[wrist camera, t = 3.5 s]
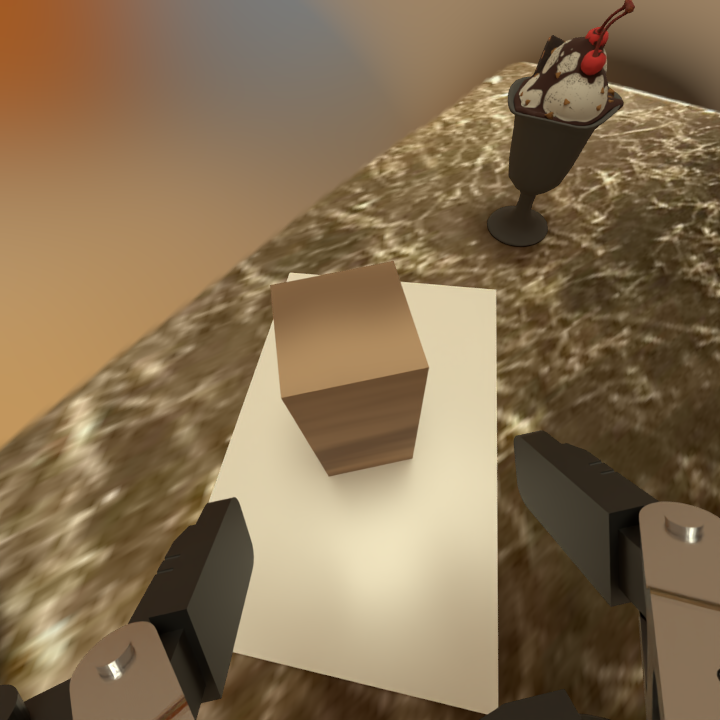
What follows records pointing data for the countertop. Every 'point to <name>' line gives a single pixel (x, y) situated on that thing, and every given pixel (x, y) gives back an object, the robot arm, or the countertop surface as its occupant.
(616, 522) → the robot arm
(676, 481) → the countertop surface
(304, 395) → the walnut block
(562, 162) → the sundae
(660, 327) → the countertop surface
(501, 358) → the countertop surface
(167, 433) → the countertop surface
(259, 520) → the cream sheet of paper
